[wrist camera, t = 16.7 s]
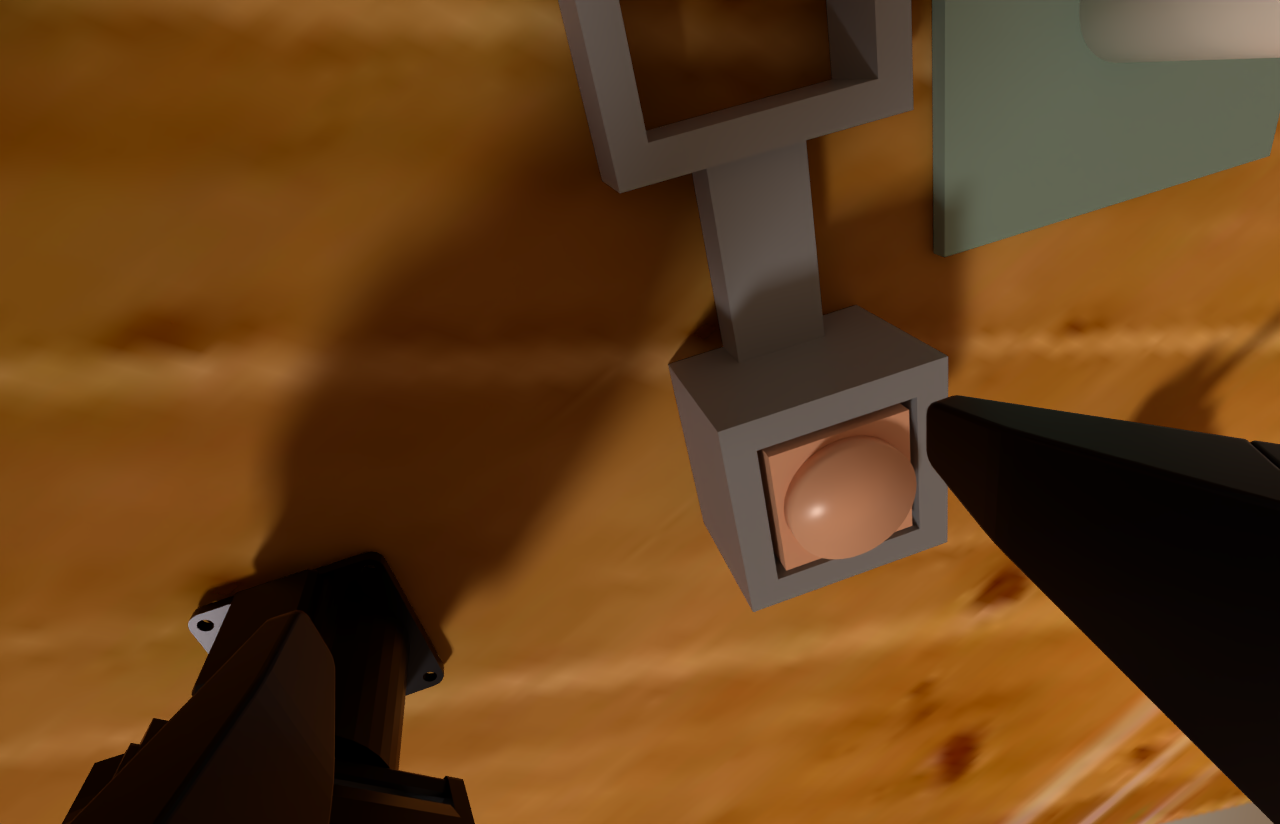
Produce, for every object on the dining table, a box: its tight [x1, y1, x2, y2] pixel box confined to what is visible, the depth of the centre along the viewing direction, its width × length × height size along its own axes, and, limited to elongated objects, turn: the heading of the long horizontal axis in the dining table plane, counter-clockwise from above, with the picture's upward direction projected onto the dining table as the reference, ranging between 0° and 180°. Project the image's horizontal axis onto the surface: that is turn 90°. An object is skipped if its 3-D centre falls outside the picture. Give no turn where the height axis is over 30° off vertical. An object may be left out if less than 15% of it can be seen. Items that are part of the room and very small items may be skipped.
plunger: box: [757, 403, 917, 571], centre depth 22 cm, size 4×4×6 cm
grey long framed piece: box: [558, 0, 948, 612], centre depth 19 cm, size 22×8×5 cm, turn 13°
